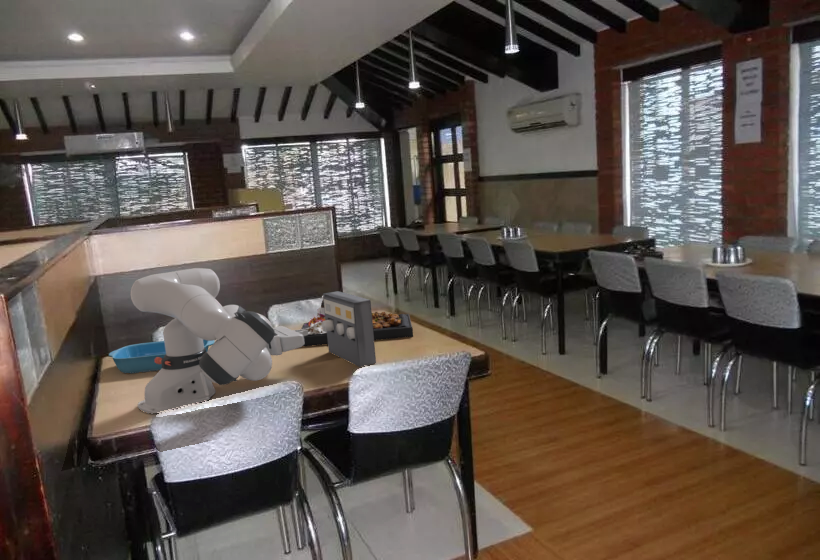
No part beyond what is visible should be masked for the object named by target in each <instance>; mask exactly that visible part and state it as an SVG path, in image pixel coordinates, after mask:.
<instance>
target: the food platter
mask: <svg viewBox="0 0 820 560" xmlns="http://www.w3.org/2000/svg"><path fill="white" fill-rule="evenodd" d="M318 309H319V308H318ZM318 309H317V310H316V311H318ZM317 314H318V315H319V316H320V317H318V315H317ZM312 316H313V318H310V320H309V321H308V322H304V323H303V325H302V326H301V328H300V329H306V330H308V335H306V336H304V342H305V344H304V345H303V346H305V347H313V346H312V345H316V346H323V345H322V344H327V345H328V339H327V332H325V331H324V330H323V327H322V322H323V321H325V318H324V317H325V315H323V314H320V313H317V312H316V316H315V315H314V314H312ZM372 323H373V334H374V341H382V340H381V339H383V340H391V339H392V340H393V339H402V338H403V339H404V338H413V337H414V332H413V331H414V330H413V325H412V321H411V317H410V314H409V313H406V314H405V313H400V314H396V313H392V312H391V313H386V312H385V311H382V312H378V311H374V312H372Z"/></svg>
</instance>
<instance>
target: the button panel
mask: <svg viewBox="0 0 820 560" xmlns="http://www.w3.org/2000/svg"><path fill="white" fill-rule="evenodd" d="M322 296H323V299H322V300H324V310H325V320H330V319H333V324H334V330H332V331H327V339H328V344H327V347H328V353H330V352H331V353H330V354H332V353H333V354H332V355H334V354H335V355H334V356H336V355H337V356H336V357H338V356H339V357H338V358H340V357H341V359H342V358H343V360H344V359H345V360H344V361H346V360H347V361H346V362H348V361H349V362H348V363H350V362H351V364H352V363H353V364H352V365H354V364H355V366H356V367H359V368H362V367H361V366H364V365H368V366H370V365H369V364H372V365H375V364H374V363H376V364H377V358H376V357H377V356H376V348H375V347H376V346H375V340H374V334H373V323H372V313H373V312H372V302H371V299H368V298H364V297H361V296H358V295H354V294H350V293H345V292H342V291H339V290H337V291H336V290H335V291H331V292H324V293H322ZM339 323H343V327H344V334H342V335H339V334H338V333H337V329H336V325H337V324H339ZM349 327H354V332H355V339H349V338H348V336H347V328H349ZM364 367H365V366H364Z"/></svg>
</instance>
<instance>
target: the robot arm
mask: <svg viewBox="0 0 820 560" xmlns="http://www.w3.org/2000/svg"><path fill="white" fill-rule="evenodd" d="M220 283H221V281H220V278H219V276H218V274H217V273H216V272H215V271H214V270H213V269H212V268H204V267H203V268H202V267H194V268H186V269H179V270H174V271H168V272H161V273H155V274H150V275H146V276H143V277H141V278H139V279H136V280H135V281H134V282H133V283H132V286H131V288H130V299H131V302H132V304H133V306H134V307H135V308H136V309H137V310H139V311H140V312H144V313H155V314H159V315H165V316H168V317H171V318H173V319H172V320H171V321H169V322H168V323H167V324H166V325H165V326H164V328H163V332H162V333H163V334H162V335H163V341H164V343H165V350H166V354H165V356H164V358H163V359H162V358H160V357H156V358H155V359H154V360H155V363H156V364H162V369H161V370H159V371H157V373H156V374H155V375H154V376H153V378H151V379H150V380H149V381H148V383H147V384H146V385H145V387H144V399H143V400H141V401H139V402H138V403H137V409H138V408H139V409H140V410H142V411H144V412H143V413H145V412H147V413H146V414H149V413H151V414H150V415H154V414H153V413H157V412H160V411H164V410H168V409H172V408H176V407H180V406H183V405H188V404H192V403H196V402H201V401H204V400H208V399H210V400H211V397H212V396H214V395H215V394H216V392H217V391H216V389H215V387H214V385H213V383H214V384H217V385H219V386H222V385H228V384H230V383H232V382H237V381H238V378H239V376H240V377H241V378H243V379H245V380H248V381H253V382H257V381H260V380H263V379H264V378H266V377H267V376H268V375H269V374H270V373H271V371H272V366H273V360H272V359H273V358H272V356H280V355H281V356H282V355H283V353H286V352H289V351H293V350H296V349H299V348H301V347H302V346H303V345H304V344H305V342H304V336H306V335H308V330H306V329H301V328H299V329H291V328H288V327H286V326H283V325H279V326H275V327H273V324H272V322H271V321H270V320H269V319H268V318H267V317H266V316H265V315H263V314H260V313H258V312H256V311H251V310H249V311H246V309H245V308H243V307H242V306H241V305H238V304H227V305H224V306H223V305H222V304H221V303H220V302H219V301H218V300H217V299H216V298H217V296H218V295H219V292H220V289H221V284H220ZM203 339H204V340H207V341H213V340H215V342H214V344H213V345H211V346H209V348H208V351H207V352H206V349H205V348H204V343H203ZM302 348H303V347H302ZM139 409H138V410H139ZM140 410H139V411H140ZM142 411H141V412H142Z"/></svg>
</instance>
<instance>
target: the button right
mask: <svg viewBox="0 0 820 560" xmlns="http://www.w3.org/2000/svg"><path fill="white" fill-rule="evenodd" d="M347 336H348V338H349V339H355V332H354V327H349V328H347Z"/></svg>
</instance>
